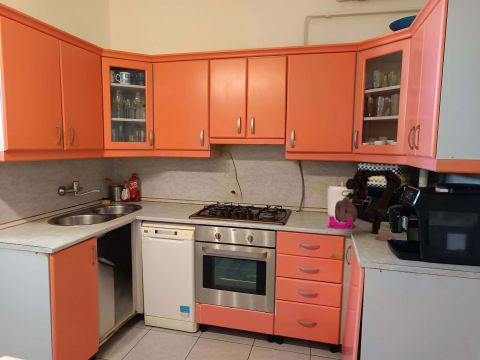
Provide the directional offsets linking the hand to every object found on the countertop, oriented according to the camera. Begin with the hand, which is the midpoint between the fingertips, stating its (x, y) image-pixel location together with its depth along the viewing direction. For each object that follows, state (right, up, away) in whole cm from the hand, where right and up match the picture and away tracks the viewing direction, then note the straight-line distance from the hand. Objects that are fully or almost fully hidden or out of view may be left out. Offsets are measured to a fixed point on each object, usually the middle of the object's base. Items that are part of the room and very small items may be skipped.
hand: (361, 213), depth 198 cm
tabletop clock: (-2, -11, +23) cm, 26 cm away
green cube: (+10, -9, -12) cm, 17 cm away
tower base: (+10, -15, -11) cm, 21 cm away
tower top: (+10, -12, -12) cm, 19 cm away
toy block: (-8, -12, +17) cm, 22 cm away
